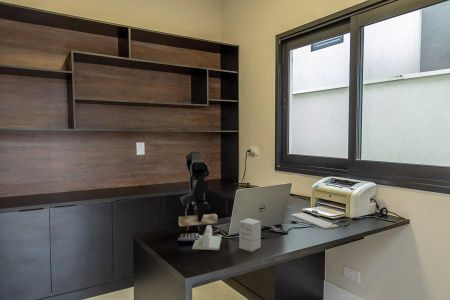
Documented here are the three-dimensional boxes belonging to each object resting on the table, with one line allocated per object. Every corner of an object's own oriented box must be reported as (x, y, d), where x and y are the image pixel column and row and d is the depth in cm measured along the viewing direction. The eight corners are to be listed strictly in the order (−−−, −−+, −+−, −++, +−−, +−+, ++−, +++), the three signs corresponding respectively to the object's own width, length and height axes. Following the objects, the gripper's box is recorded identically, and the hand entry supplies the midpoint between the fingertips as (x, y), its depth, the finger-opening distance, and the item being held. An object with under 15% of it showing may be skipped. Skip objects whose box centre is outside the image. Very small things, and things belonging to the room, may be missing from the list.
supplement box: (247, 243, 150) (248, 217, 149) (261, 247, 145) (261, 220, 144) (238, 248, 144) (239, 221, 143) (251, 252, 139) (252, 224, 138)
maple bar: (215, 220, 153) (215, 213, 153) (217, 222, 150) (217, 215, 150) (178, 224, 147) (178, 216, 147) (180, 226, 144) (180, 218, 143)
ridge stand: (197, 237, 158) (197, 224, 157) (221, 238, 157) (221, 225, 157) (192, 249, 142) (192, 234, 142) (218, 249, 141) (219, 235, 141)
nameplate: (293, 231, 166) (279, 233, 161) (293, 233, 166) (279, 236, 161) (262, 218, 190) (248, 220, 185) (262, 220, 190) (248, 223, 185)
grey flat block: (305, 214, 207) (290, 216, 202) (305, 210, 207) (290, 212, 201) (341, 227, 179) (325, 230, 174) (341, 222, 179) (325, 225, 174)
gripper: (178, 185, 154) (178, 216, 155) (185, 192, 136) (185, 228, 137) (200, 184, 157) (200, 215, 158) (210, 191, 140) (210, 225, 141)
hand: (198, 220), depth 148 cm, fingers closed on maple bar, 3 cm apart
